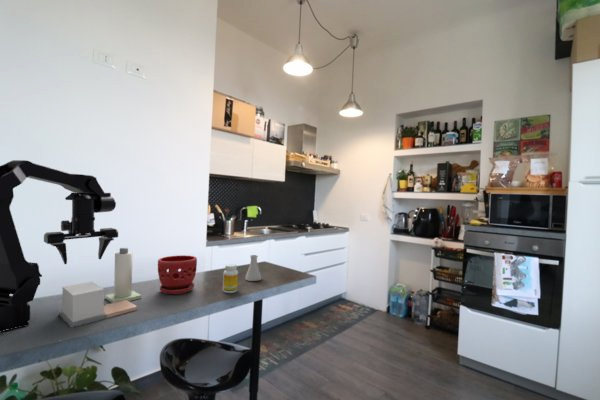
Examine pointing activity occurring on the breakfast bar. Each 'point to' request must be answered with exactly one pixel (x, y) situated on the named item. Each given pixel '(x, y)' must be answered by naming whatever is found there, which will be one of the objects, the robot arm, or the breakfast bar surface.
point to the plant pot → (177, 273)
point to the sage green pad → (129, 298)
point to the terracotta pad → (119, 308)
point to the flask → (253, 270)
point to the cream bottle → (123, 273)
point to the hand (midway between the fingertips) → (83, 261)
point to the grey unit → (82, 304)
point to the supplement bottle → (230, 278)
